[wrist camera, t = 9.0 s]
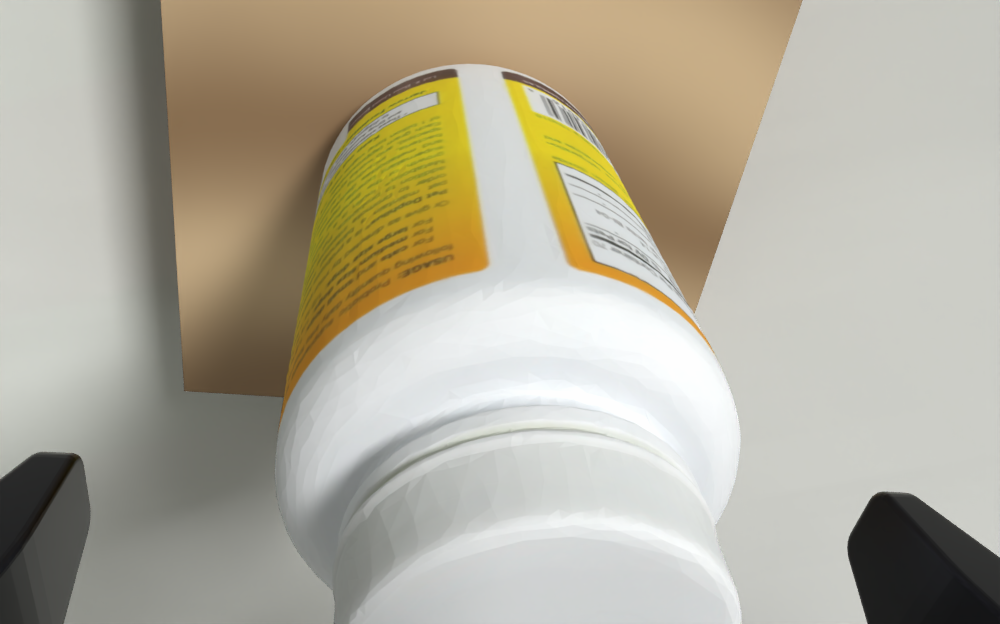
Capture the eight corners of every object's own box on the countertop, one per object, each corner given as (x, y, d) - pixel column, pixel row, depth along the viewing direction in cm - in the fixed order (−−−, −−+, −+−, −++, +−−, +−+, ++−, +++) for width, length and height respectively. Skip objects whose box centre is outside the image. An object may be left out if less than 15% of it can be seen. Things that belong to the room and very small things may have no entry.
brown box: (630, 346, 23) (657, 419, 20) (210, 314, 21) (184, 390, 18) (762, -93, 17) (825, -66, 14) (192, -192, 15) (149, -181, 12)
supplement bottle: (313, 299, 17) (231, 821, 9) (333, 30, 14) (236, 425, 6) (571, 324, 18) (720, 813, 10) (639, 77, 15) (936, 474, 7)
